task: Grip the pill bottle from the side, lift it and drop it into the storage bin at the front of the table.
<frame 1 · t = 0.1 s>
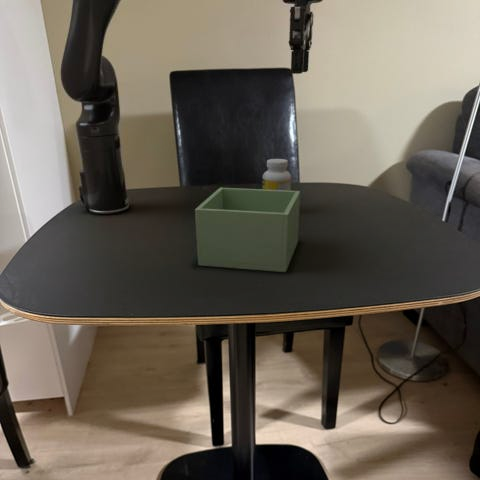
hand: (299, 72, 93), 29 cm above the table, tool pointing down, fingers open, 8 cm apart
storage bin: (250, 253, 89), on the table
pill bottle: (275, 212, 113), on the table
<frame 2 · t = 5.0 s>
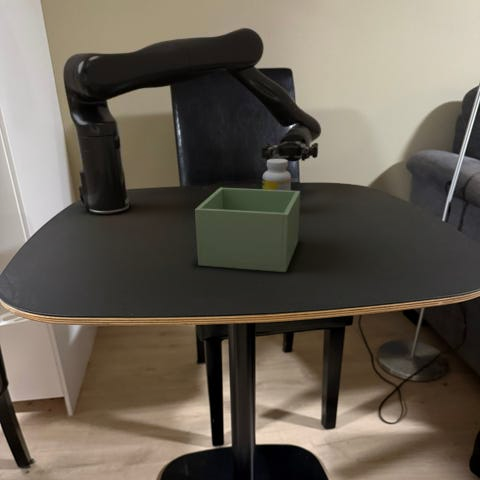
hand: (285, 156, 117), 11 cm above the table, tool horizontal, fingers open, 8 cm apart
nothing on the table moved.
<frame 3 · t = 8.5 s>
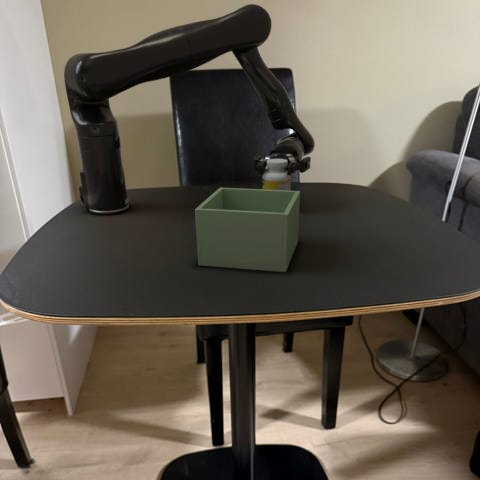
hand: (275, 170, 106), 10 cm above the table, tool horizontal, fingers closed on pill bottle, 5 cm apart
pill bottle: (276, 212, 113), on the table, touching gripper
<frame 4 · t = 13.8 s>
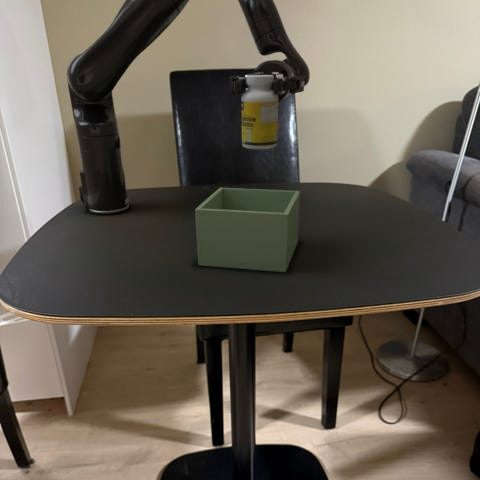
hand: (257, 87, 80), 28 cm above the table, tool horizontal, fingers closed on pill bottle, 5 cm apart
pill bottle: (259, 148, 87), point 17 cm above the table, touching gripper
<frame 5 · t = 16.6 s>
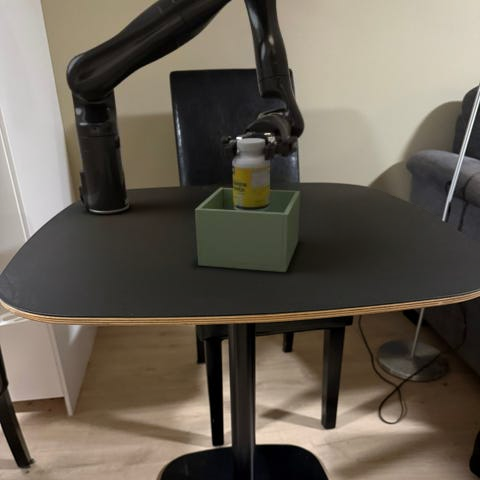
hand: (248, 153, 79), 18 cm above the table, tool horizontal, fingers closed on pill bottle, 5 cm apart
pill bottle: (251, 210, 86), point 8 cm above the table, touching gripper
when the fingers open (12 cm above the table, at t = 18.9 s): pill bottle stays where it is, resting on storage bin.
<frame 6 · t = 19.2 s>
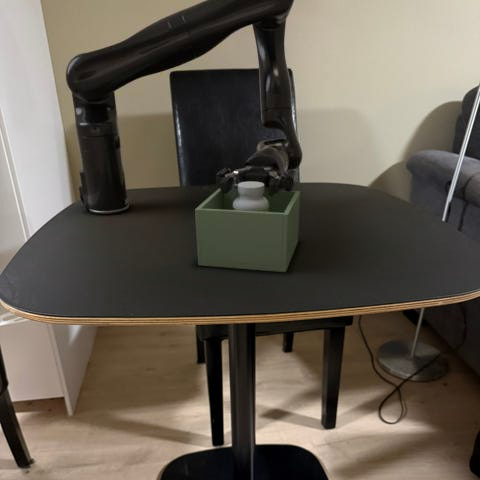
hand: (247, 188, 82), 12 cm above the table, tool horizontal, fingers open, 7 cm apart
pill bottle: (250, 248, 89), point 1 cm above the table, touching storage bin
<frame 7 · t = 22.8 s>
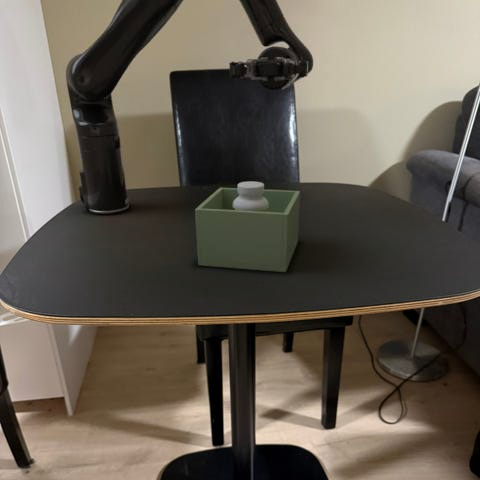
hand: (261, 70, 83), 30 cm above the table, tool horizontal, fingers open, 8 cm apart
nothing on the table moved.
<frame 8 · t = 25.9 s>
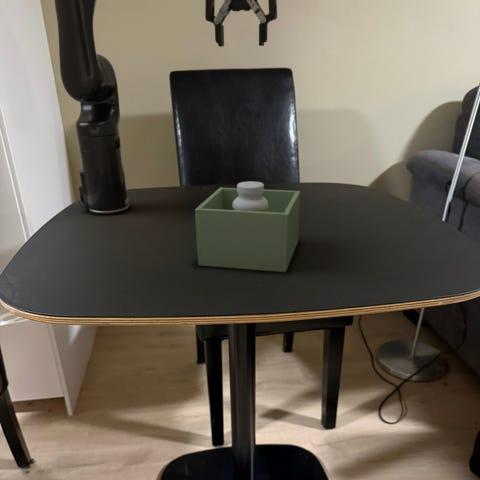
hand: (241, 46, 99), 34 cm above the table, tool pointing down, fingers open, 8 cm apart
nothing on the table moved.
at the end: pill bottle inside the target area in the storage bin (0.2 cm from its centre), point 0.8 cm above the storage bin's base; the gripper is holding nothing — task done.
